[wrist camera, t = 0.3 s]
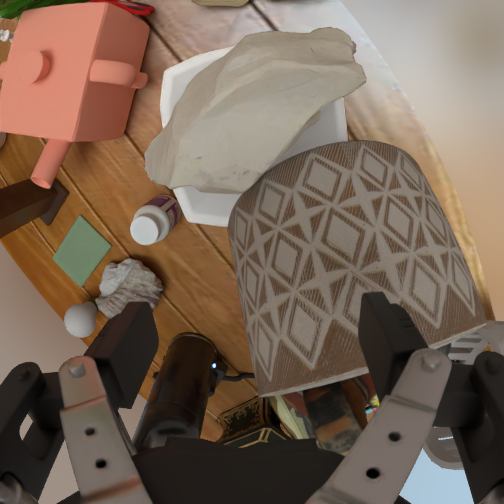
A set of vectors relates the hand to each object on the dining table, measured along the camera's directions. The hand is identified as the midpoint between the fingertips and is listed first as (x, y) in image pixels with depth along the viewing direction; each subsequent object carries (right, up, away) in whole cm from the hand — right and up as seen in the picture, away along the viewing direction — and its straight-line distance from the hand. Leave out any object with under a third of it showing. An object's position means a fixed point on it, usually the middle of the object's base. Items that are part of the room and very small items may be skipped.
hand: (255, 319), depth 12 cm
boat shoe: (+8, -35, +48) cm, 60 cm away
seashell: (-21, -3, +43) cm, 48 cm away
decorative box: (+1, -32, +53) cm, 62 cm away
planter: (+7, +8, +19) cm, 22 cm away
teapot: (-25, +26, +31) cm, 47 cm away
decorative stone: (-2, +19, +18) cm, 26 cm away
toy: (-16, +36, +20) cm, 44 cm away
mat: (-31, +2, +41) cm, 51 cm away
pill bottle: (-13, +9, +37) cm, 41 cm away
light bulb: (-29, -7, +45) cm, 54 cm away
